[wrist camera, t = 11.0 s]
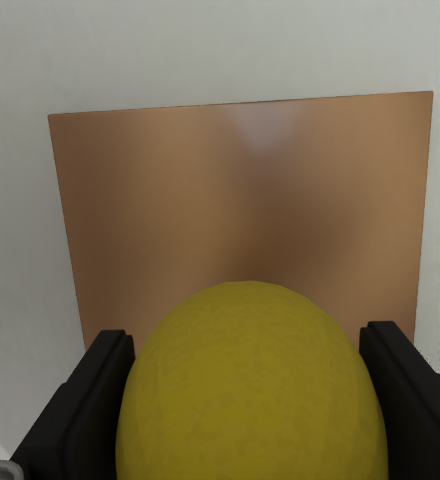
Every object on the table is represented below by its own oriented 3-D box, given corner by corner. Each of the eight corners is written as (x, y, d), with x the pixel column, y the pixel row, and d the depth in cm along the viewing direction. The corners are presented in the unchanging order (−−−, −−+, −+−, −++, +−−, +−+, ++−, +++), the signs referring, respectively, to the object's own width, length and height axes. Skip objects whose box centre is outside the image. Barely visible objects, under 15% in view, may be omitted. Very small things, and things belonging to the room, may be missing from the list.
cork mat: (103, 419, 19) (97, 431, 19) (55, 115, 16) (46, 114, 15) (400, 413, 19) (407, 425, 18) (424, 92, 15) (434, 90, 14)
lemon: (296, 419, 14) (373, 791, 6) (140, 373, 14) (11, 700, 6) (359, 273, 12) (568, 520, 5) (184, 219, 12) (93, 384, 4)
